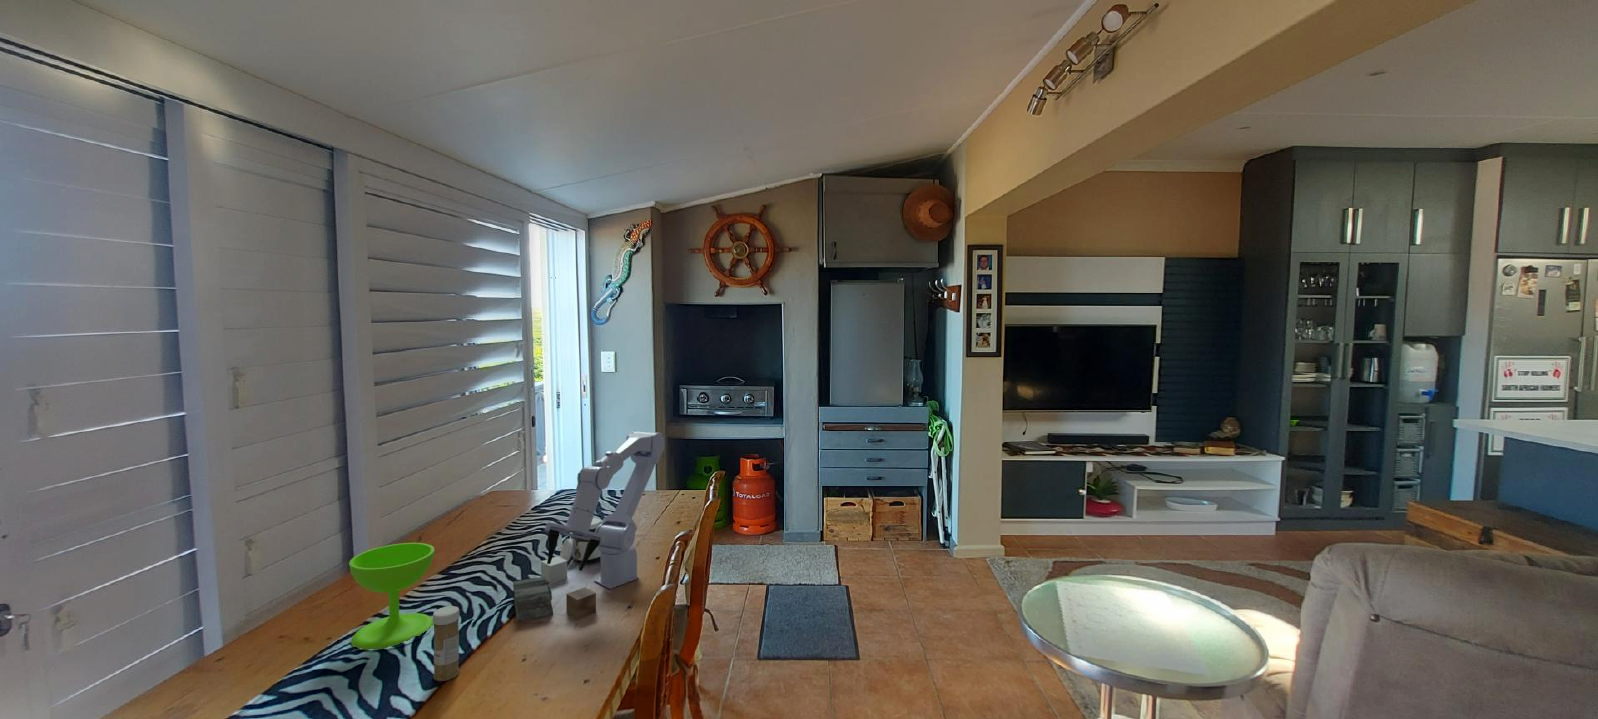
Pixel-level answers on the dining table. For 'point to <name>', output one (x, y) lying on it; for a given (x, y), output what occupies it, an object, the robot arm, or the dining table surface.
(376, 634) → the wineglass
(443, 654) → the sprinkles bottle
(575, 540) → the spread jar
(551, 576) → the grey cube
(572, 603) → the walnut cube
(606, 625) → the dining table surface
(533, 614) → the stone block
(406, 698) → the dining table surface
